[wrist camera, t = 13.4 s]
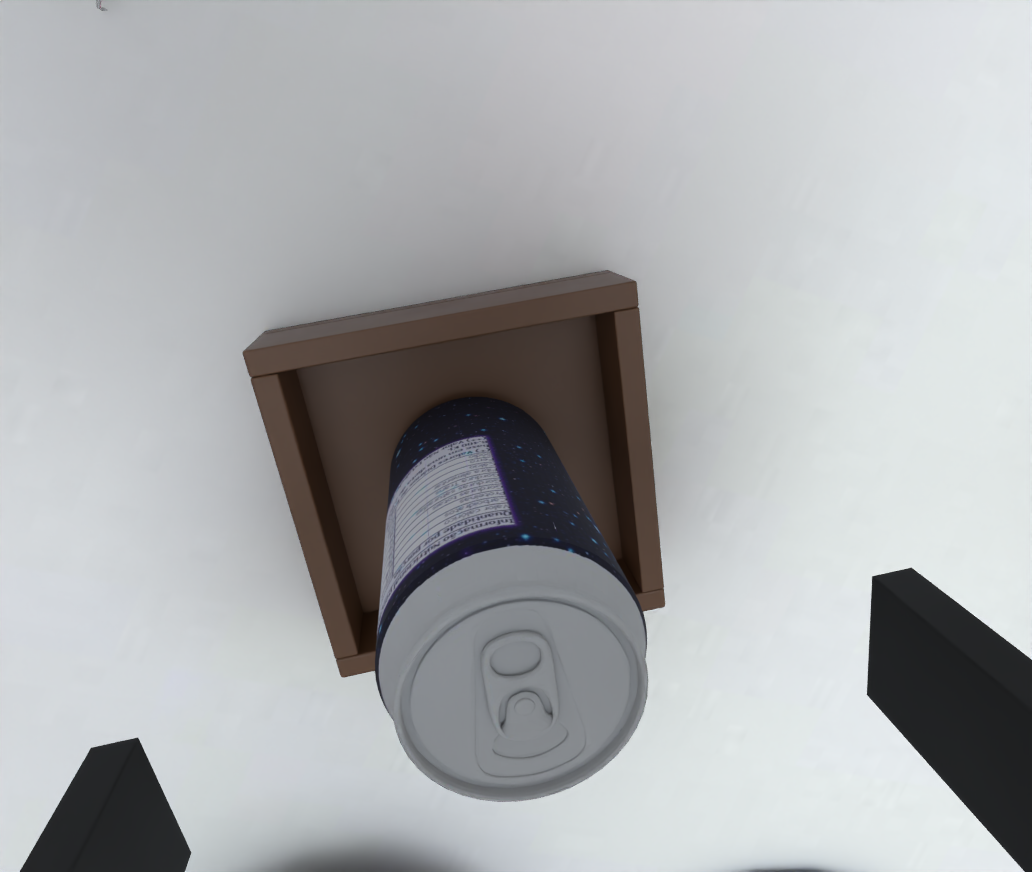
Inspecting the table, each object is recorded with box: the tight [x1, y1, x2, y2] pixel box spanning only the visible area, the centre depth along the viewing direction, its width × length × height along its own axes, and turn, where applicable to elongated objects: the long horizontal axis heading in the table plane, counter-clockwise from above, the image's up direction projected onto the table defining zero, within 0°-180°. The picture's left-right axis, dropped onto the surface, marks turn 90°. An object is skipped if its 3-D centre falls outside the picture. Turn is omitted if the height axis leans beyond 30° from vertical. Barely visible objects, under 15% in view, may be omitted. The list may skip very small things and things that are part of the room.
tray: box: [243, 270, 665, 677], centre depth 23 cm, size 12×12×3 cm
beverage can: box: [375, 397, 648, 802], centre depth 18 cm, size 6×6×12 cm
